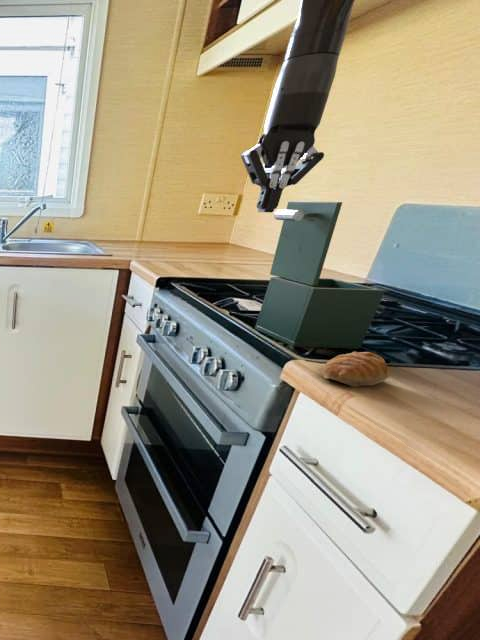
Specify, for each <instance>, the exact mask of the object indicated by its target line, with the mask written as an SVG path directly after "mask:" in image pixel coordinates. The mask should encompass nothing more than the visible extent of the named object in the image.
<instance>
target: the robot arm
mask: <svg viewBox="0 0 480 640" xmlns="http://www.w3.org/2000/svg"><path fill="white" fill-rule="evenodd" d="M355 1H356V0H300V2H299V3H300V4H299V9H298V13H297V17H296V20H295V23H294V25H293V28H292V32H291V34H290V35H289V40H288V43H287V47H286V50H285V54H284V58H283V62H282V64H281V68H280V70H279V73H278V74H277V78H276V81H275V84H274V87H273V91H272V95H271V99H270V103H269V106H268V110H267V113H266V117H265V121H264V125H263V133H262V135H260V138H259V139H258V141H257V144H255V146H253V147H252V148H250V149H249V150H244V151H243V152H242V153H241V155H240V157H241V160H242V162H243V165H244V168H245V169H246V173H247V175H248V177H249V179H250V182H251V184H253V185H257V186H258V187H260V192H259V196H258V199H257V203H256V209H257V212H258V213H273V212H274V211H275V210H276V209H277V208H278V207H279V203H280V200H281V198H282V194H283V191H284V189H285V188H287V187H289V186H294V185H297V184H298V183H299V182H300V181H301V180H302V179H304V177H305V176H306V175H307V174H308V173H309V172H310V171H312V169H314V168H315V167H316V165H318V163H320V162H321V161H322V160H323V159H324V157H325V153H324V152H323V151H318V150H317V149H316V147H315V146H314V145H315V143H316V138H315V133H316V131H317V129H318V127H319V125H320V124H321V122H322V118H323V114H324V112H325V108H326V105H327V102H328V100H329V97H330V96H329V95H330V92H331V90H332V86H333V83H334V80H335V76H336V74H337V73H336V72H337V69H338V68H337V67H338V62H339V58H340V55H341V52H342V48H343V46H344V42H345V39H346V35H347V32H348V29H349V25H350V21H351V15H352V12H353V8H354V7H353V6H354V3H355ZM261 159H262V161H261ZM299 161H300V162H299ZM262 162H263V163H262ZM298 162H299V163H298ZM297 163H298V164H297Z"/></svg>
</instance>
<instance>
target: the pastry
mask: <svg viewBox="0 0 480 640" xmlns="http://www.w3.org/2000/svg"><path fill="white" fill-rule="evenodd" d="M322 376H323V378H324V379H329V380H334V381H337V382H339V383H342V384H345V385H348V386H350V387H355V388H356V387H368V386H369V387H370V386H374V385H377V384H382V382H383V381H385V380H387V379H388V378H390V376H391V373H390V372H389V367H388V365H387V364H386V361H385V359H384V358H383V357H382V356H380V355H378V354H377V353H374V352H370V351H362V352H361V351H360V352H359V351H355V350H354V351H352V352H350V353H349V352H348V353H345V354H344V353H343V354H339V355H336V356H335V357H333V358H331V359H329V360H328V361H327V362H326V364H325V366H324V369H323V372H322Z"/></svg>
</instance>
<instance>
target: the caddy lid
mask: <svg viewBox="0 0 480 640" xmlns="http://www.w3.org/2000/svg"><path fill="white" fill-rule="evenodd" d="M342 205H343V201H341V202H340V201H299V200H298V201H297V200H296V201H293V200H291V201H288V202H287V206H286V208H279V209H277V210H276V211H275V212H274V215H273V217H274V218H275V220H277V221H282V225H281V229H280V233H279V236H278V241H277V245H276V249H275V252H274V257H273V260H272V264H271V268H270V271H269V275H270V276H273V277H282V278H285V279H289V280H293V281H297V282H301V283H304V284H308V285H312V286H317V285H318V281H319V278H321V275H322V272H323V269H324V264H325V262H326V258H327V255H328V253H329V248H330V245H331V242H332V239H333V234H334V232H335V229H336V226H337V222H338V218H339V216H340V212H341V208H342Z"/></svg>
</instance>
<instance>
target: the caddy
mask: <svg viewBox="0 0 480 640" xmlns="http://www.w3.org/2000/svg"><path fill="white" fill-rule="evenodd" d="M385 292H386V290H385V289H380V288H378V287H372V286H367V285H363V284H359V283H355V282H350V281H346V280H341V279H337V278H328V277H327V278H324V277H323V278H322V277H320V278H319V281H318V285H317V286H312V285H308V284H304V283H301V282H297V281H293V280H289V279H285V278H282V277H278V276H271V277H270V279H269V282H268V285H267V289H266V291H265V295H264V298H263V301H262V305H261V308H260V310H259V313H258V317H257V320H256V323H255V326H254V330H257V331H258V332H261V333H263V334H265V335H267V336H269V337H271V338H274V339H276V340H278V341H280V342H282V343H284V344H286V345H288V346H291V347H294V348H295V347H296V348H327V349H329V348H331V349H360V350H361V347H362V345H363V343H364V340H365V339H366V337H367V334H368V331H369V329H370V327H371V325H372V323H373V320H374V317H375V315H376V313H377V310H378V308H379V306H380V303H381V301H382V299H383V297H384V295H385Z"/></svg>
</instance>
